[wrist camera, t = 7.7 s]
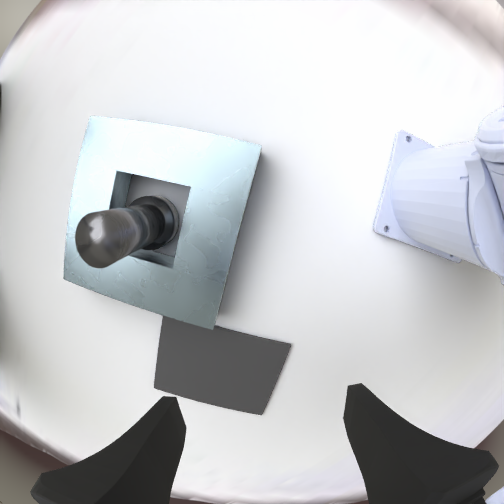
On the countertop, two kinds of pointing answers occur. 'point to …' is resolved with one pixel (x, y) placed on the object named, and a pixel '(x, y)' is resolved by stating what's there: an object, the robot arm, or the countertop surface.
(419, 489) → the robot arm
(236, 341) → the tool mat
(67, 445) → the countertop surface
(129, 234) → the dark grey peg
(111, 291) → the grey flat square frame
